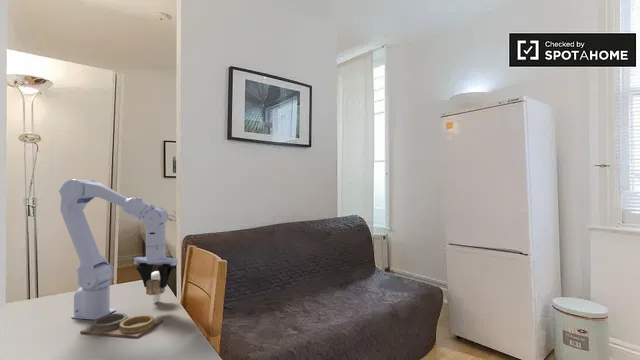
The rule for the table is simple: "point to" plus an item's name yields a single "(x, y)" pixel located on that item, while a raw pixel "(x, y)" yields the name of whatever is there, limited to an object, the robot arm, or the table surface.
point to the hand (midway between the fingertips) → (155, 286)
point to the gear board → (117, 333)
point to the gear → (154, 287)
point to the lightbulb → (156, 275)
